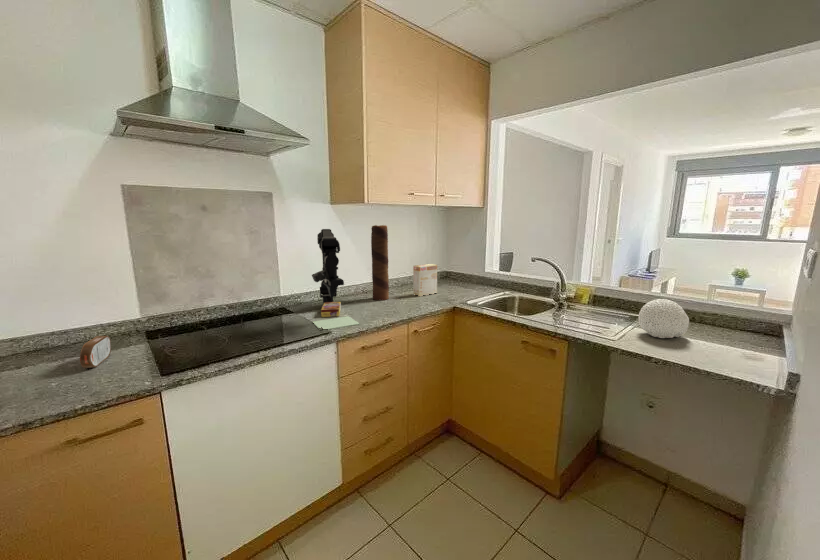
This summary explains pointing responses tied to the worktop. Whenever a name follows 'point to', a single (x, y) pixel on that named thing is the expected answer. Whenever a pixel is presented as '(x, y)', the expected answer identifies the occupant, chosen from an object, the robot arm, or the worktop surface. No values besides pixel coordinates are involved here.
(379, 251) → the wafer roll
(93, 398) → the worktop surface
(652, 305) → the white rounded lump
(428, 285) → the coffeecake box
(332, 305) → the candy box
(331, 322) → the mat
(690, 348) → the worktop surface
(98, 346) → the tin
